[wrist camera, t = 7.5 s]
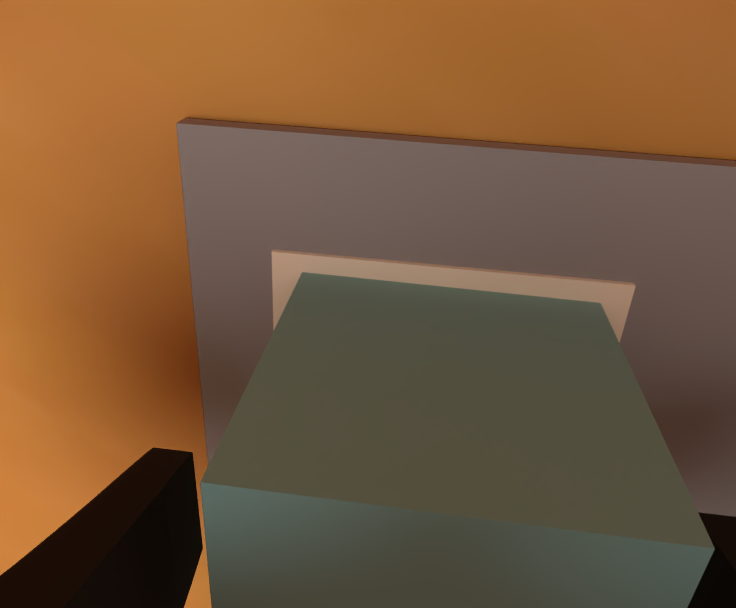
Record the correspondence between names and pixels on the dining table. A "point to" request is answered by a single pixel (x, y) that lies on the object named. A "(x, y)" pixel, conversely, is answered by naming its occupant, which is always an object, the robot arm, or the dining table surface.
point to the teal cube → (445, 460)
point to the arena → (474, 254)
